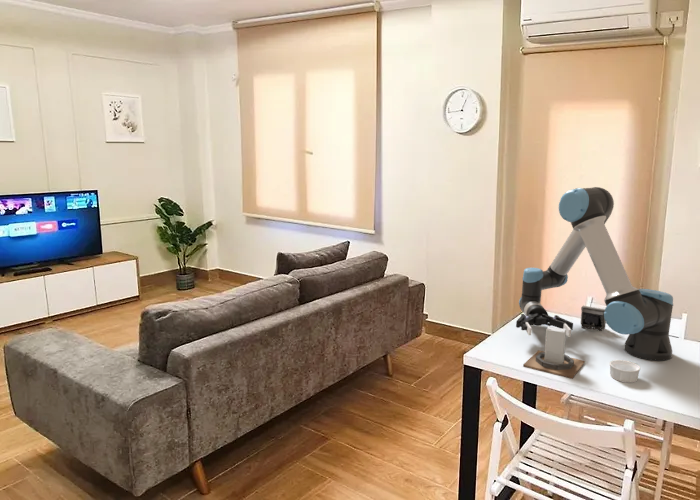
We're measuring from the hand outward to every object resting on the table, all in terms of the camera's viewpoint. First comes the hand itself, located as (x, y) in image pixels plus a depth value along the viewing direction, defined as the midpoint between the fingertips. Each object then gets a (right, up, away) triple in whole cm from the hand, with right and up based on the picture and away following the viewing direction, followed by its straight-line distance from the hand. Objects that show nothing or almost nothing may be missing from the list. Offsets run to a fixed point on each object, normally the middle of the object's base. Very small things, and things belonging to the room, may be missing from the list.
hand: (549, 332), depth 191 cm
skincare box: (-1, -9, -7) cm, 12 cm away
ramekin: (+18, -12, -17) cm, 27 cm away
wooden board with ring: (-1, -10, -7) cm, 12 cm away
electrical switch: (+28, -3, +28) cm, 40 cm away
